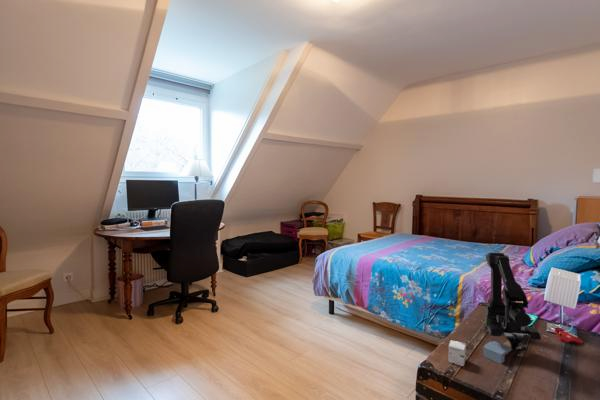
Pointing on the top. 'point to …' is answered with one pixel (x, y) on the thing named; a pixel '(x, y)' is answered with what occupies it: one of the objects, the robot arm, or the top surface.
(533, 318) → the handheld game console
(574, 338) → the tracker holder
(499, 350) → the block
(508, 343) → the link
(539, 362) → the top surface
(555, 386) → the top surface
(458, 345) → the skincare box
